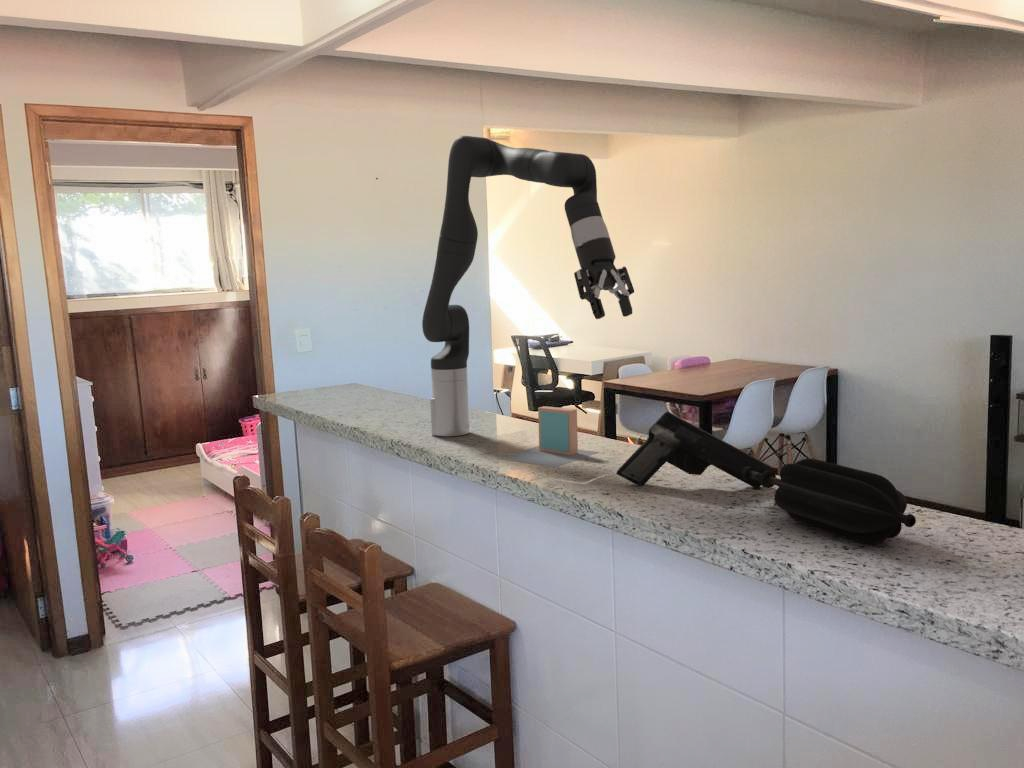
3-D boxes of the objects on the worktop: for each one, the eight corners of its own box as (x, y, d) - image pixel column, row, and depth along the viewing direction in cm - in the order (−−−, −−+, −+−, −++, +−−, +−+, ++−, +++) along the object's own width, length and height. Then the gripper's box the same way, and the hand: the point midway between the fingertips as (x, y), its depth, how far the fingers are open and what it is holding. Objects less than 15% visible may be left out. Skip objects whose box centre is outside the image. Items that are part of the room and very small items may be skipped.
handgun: (730, 536, 157) (771, 468, 154) (616, 473, 160) (653, 405, 156) (729, 532, 159) (770, 465, 156) (617, 470, 162) (654, 403, 159)
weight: (936, 550, 120) (938, 481, 118) (886, 562, 115) (888, 491, 114) (767, 496, 150) (768, 441, 149) (723, 504, 146) (723, 448, 144)
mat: (496, 459, 186) (496, 458, 186) (541, 446, 199) (541, 444, 199) (555, 468, 176) (555, 467, 176) (599, 453, 189) (598, 452, 189)
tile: (538, 450, 192) (537, 407, 191) (545, 448, 194) (544, 406, 193) (571, 455, 187) (570, 410, 185) (577, 453, 189) (576, 409, 187)
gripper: (602, 250, 182) (624, 320, 179) (556, 250, 172) (578, 325, 170) (627, 235, 176) (650, 308, 174) (581, 235, 167) (604, 312, 164)
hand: (614, 316), depth 172 cm, fingers open, 8 cm apart
